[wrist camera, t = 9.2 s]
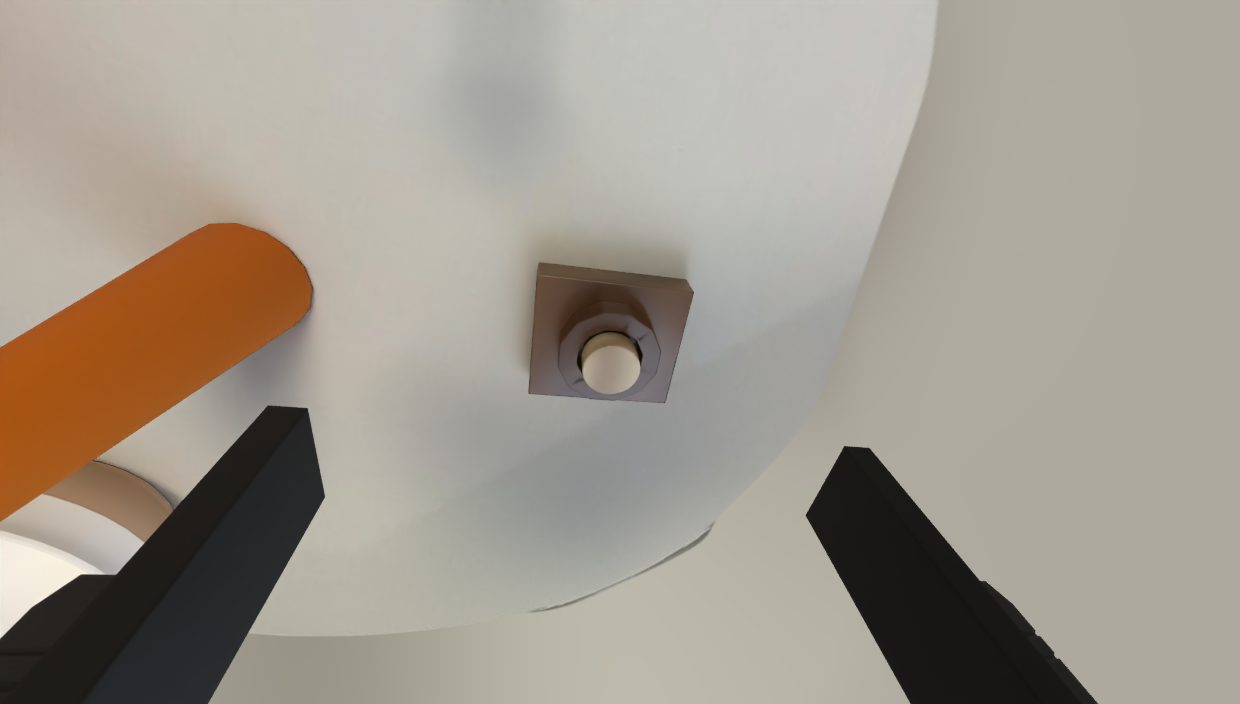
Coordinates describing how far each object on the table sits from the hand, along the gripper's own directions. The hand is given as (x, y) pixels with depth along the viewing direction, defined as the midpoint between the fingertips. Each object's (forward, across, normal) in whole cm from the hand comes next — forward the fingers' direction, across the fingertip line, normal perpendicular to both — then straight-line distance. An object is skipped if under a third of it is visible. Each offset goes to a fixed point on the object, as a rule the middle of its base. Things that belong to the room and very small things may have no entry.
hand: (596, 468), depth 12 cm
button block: (+20, +3, -6) cm, 22 cm away
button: (+17, +3, -7) cm, 18 cm away
